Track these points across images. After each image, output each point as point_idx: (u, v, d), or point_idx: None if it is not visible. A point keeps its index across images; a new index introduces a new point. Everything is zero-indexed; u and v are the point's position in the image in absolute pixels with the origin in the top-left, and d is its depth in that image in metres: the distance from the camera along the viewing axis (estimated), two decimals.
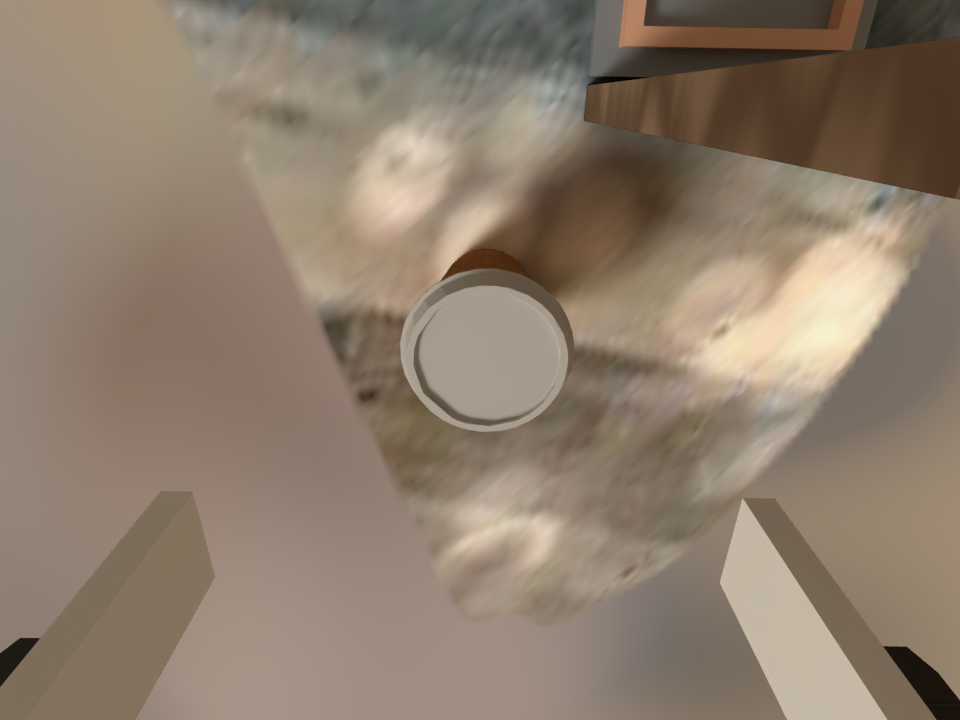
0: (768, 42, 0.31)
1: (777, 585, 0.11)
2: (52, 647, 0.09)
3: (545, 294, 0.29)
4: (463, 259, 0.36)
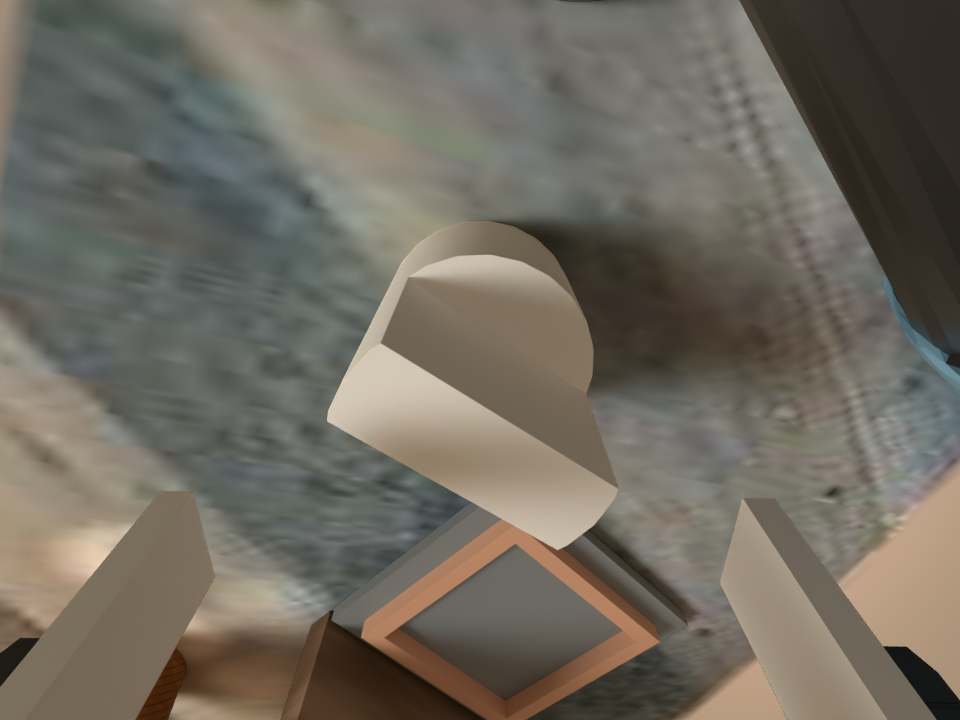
0: (459, 696, 0.36)
1: (777, 584, 0.11)
2: (52, 647, 0.09)
3: None
4: None
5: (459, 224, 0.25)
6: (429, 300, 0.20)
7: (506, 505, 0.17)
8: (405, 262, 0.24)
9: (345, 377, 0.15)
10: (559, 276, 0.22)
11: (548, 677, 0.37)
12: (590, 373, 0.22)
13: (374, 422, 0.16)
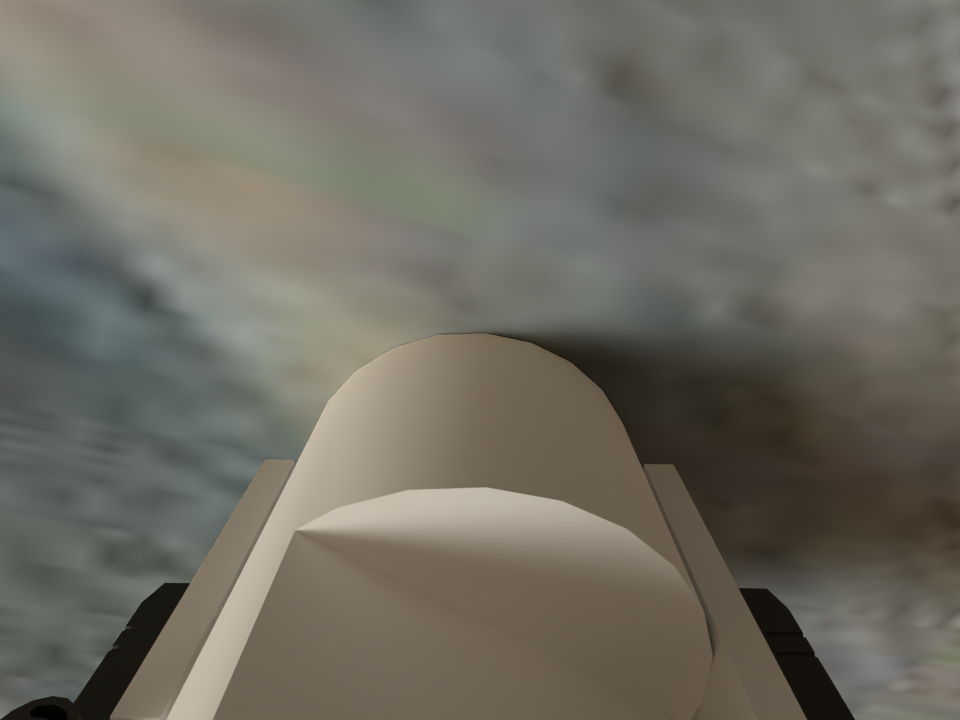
0: None
1: None
2: (205, 586, 0.10)
3: None
4: None
5: (429, 341, 0.13)
6: (339, 601, 0.08)
7: None
8: (324, 422, 0.13)
9: None
10: (632, 484, 0.10)
11: None
12: (700, 694, 0.10)
13: None
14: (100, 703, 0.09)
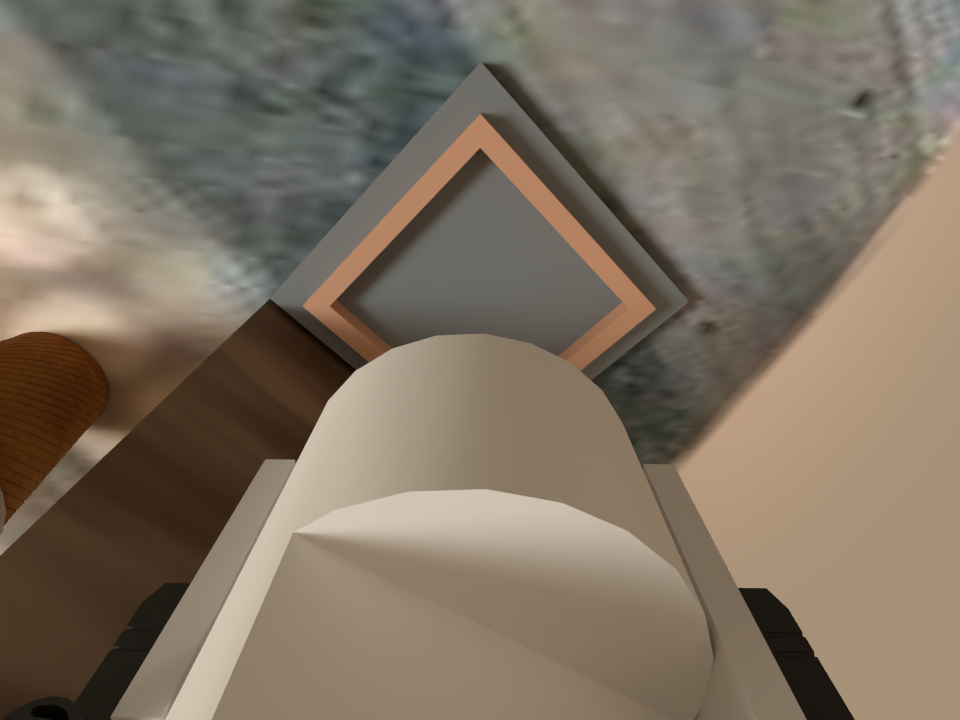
0: None
1: None
2: (206, 586, 0.10)
3: None
4: (21, 348, 0.29)
5: (429, 342, 0.13)
6: (338, 604, 0.08)
7: None
8: (323, 423, 0.13)
9: None
10: (633, 485, 0.10)
11: None
12: (701, 697, 0.10)
13: None
14: (100, 702, 0.09)
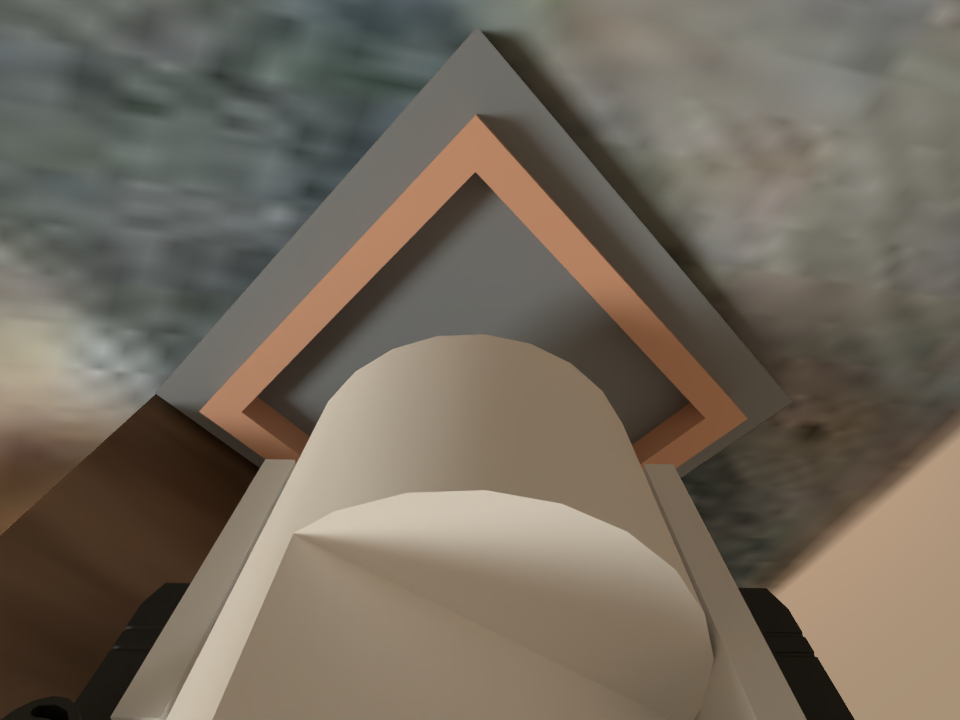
0: None
1: None
2: (206, 586, 0.10)
3: None
4: None
5: (429, 343, 0.13)
6: (338, 605, 0.08)
7: None
8: (323, 424, 0.13)
9: None
10: (633, 486, 0.10)
11: None
12: (701, 697, 0.10)
13: None
14: (100, 703, 0.09)
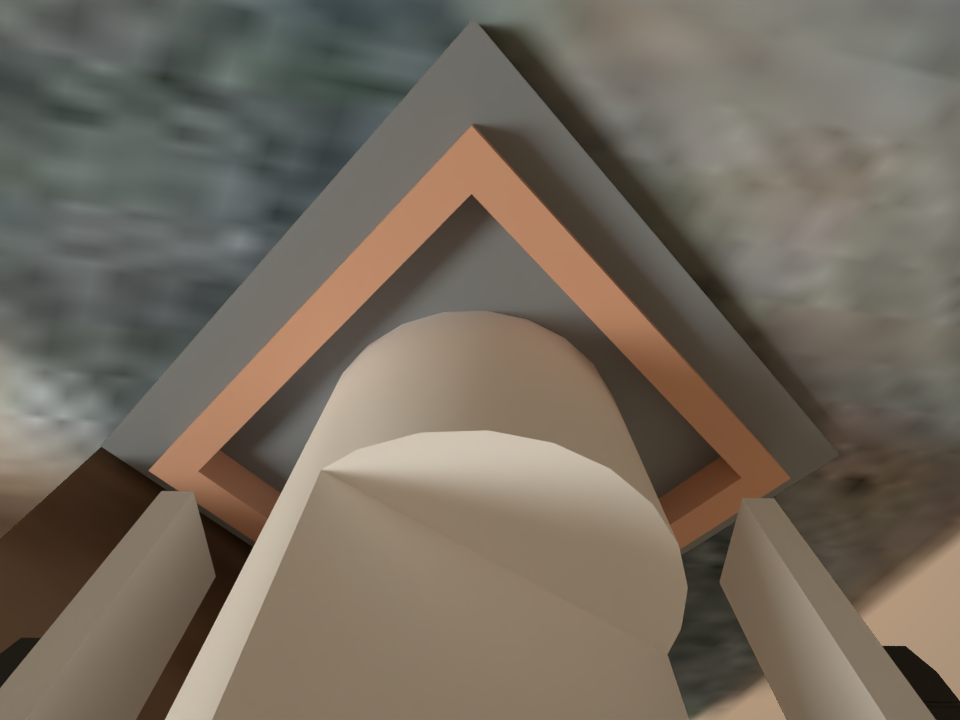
0: None
1: (776, 584, 0.11)
2: (54, 646, 0.09)
3: None
4: None
5: (435, 318, 0.15)
6: (361, 528, 0.09)
7: None
8: (340, 389, 0.14)
9: None
10: (617, 438, 0.12)
11: None
12: (678, 625, 0.12)
13: None
14: None
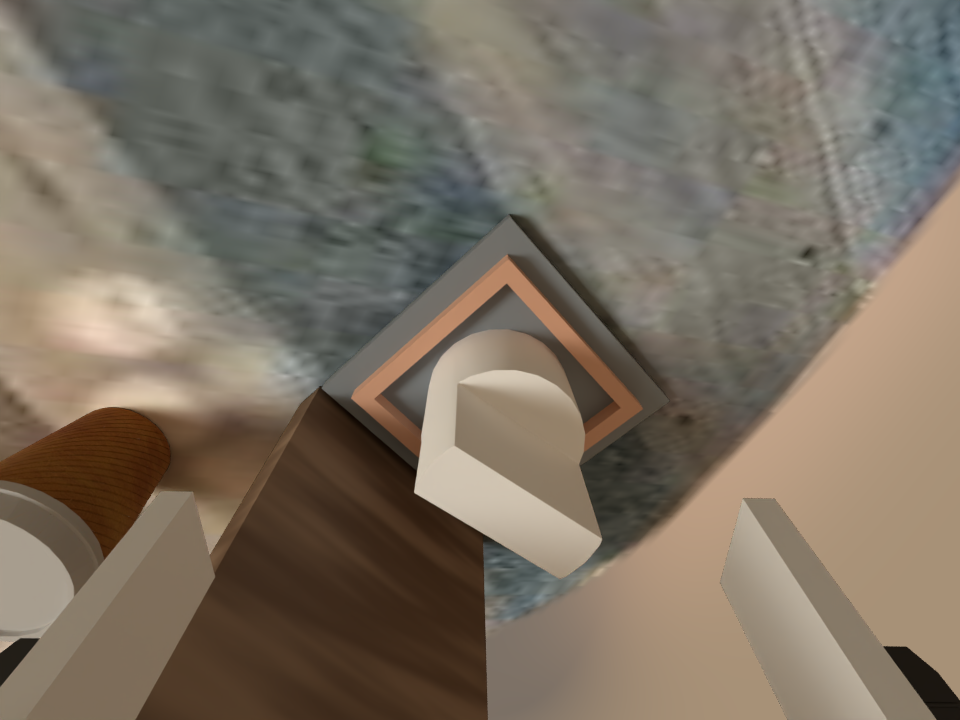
0: None
1: (776, 585, 0.11)
2: (52, 647, 0.09)
3: (92, 559, 0.28)
4: (106, 425, 0.34)
5: (486, 332, 0.34)
6: (473, 401, 0.28)
7: (527, 548, 0.26)
8: (447, 361, 0.33)
9: (429, 465, 0.24)
10: (561, 379, 0.31)
11: None
12: (582, 450, 0.30)
13: (445, 493, 0.24)
14: None
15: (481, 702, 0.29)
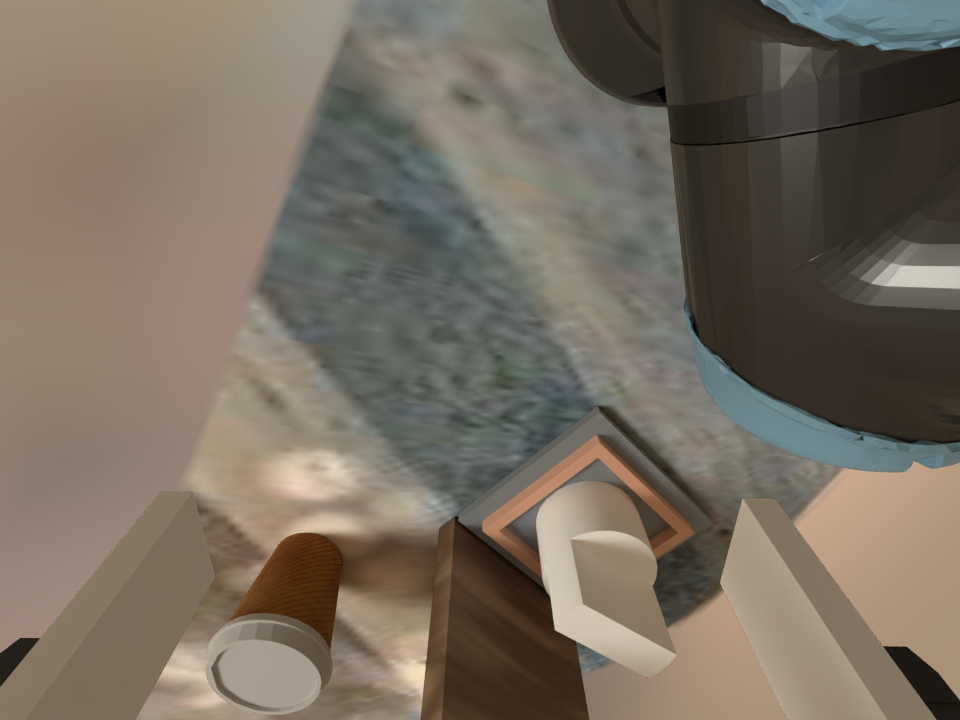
0: None
1: (776, 585, 0.11)
2: (52, 647, 0.09)
3: (328, 661, 0.42)
4: (308, 552, 0.48)
5: (580, 484, 0.47)
6: (582, 553, 0.41)
7: (626, 660, 0.39)
8: (554, 508, 0.46)
9: (566, 615, 0.37)
10: (639, 528, 0.44)
11: None
12: (655, 577, 0.43)
13: (574, 630, 0.37)
14: None
15: None
